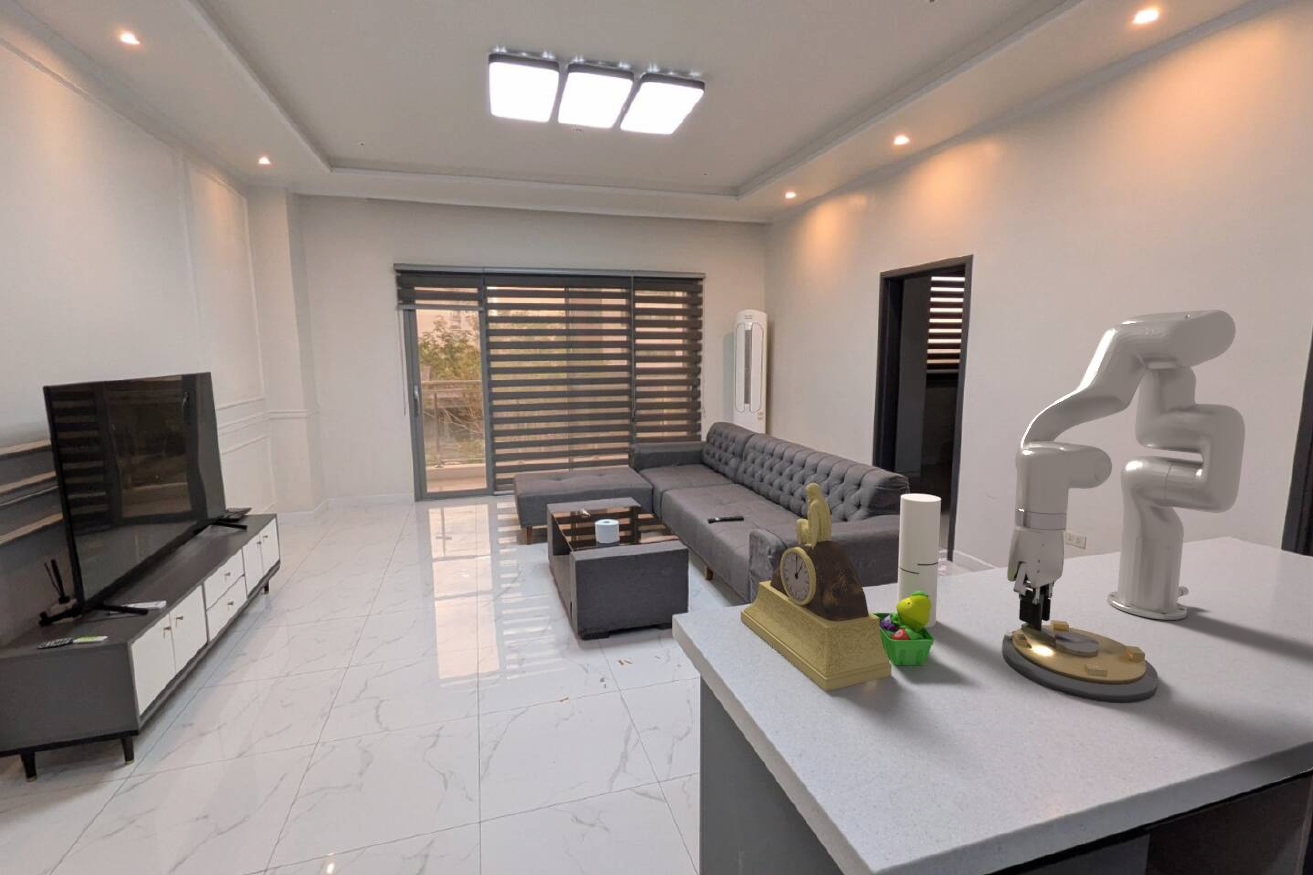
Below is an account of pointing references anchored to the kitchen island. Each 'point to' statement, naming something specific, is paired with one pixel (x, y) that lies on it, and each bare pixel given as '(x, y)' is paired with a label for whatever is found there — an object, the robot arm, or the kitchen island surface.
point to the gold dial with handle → (1078, 653)
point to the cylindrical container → (919, 548)
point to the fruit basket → (907, 630)
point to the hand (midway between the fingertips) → (1034, 619)
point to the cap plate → (1078, 687)
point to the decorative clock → (819, 608)
